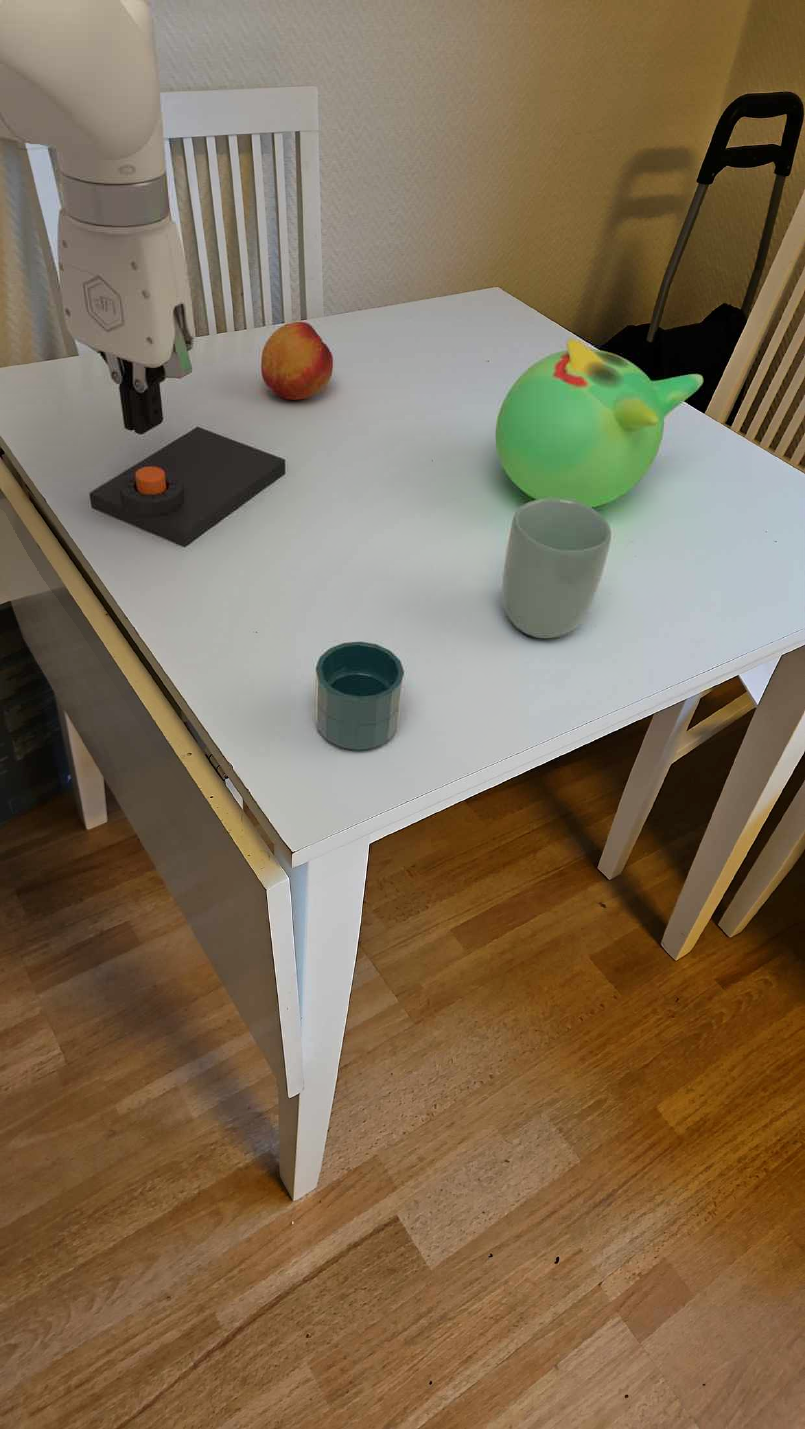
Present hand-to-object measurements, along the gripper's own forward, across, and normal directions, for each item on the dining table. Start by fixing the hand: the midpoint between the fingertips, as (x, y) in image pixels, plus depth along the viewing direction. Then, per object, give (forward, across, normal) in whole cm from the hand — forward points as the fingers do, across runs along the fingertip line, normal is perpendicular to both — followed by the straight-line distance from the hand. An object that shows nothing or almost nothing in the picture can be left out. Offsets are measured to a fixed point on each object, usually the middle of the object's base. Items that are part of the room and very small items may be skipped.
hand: (144, 425), depth 83 cm
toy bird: (+9, +31, +28) cm, 43 cm away
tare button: (+6, 0, 0) cm, 6 cm away
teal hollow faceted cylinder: (+9, +30, -13) cm, 34 cm away
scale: (+9, 0, +6) cm, 11 cm away
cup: (+9, +37, +6) cm, 39 cm away
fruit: (+9, -3, +28) cm, 30 cm away
